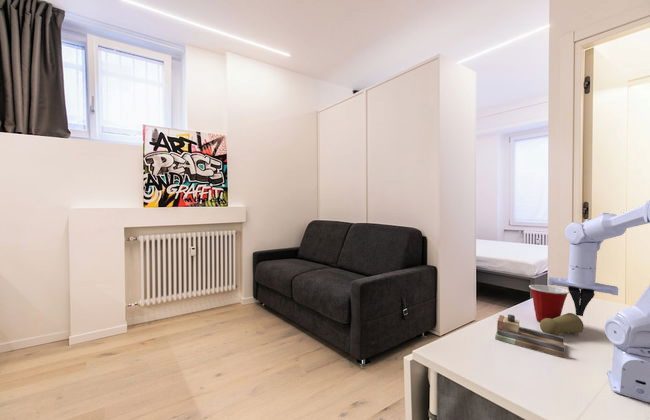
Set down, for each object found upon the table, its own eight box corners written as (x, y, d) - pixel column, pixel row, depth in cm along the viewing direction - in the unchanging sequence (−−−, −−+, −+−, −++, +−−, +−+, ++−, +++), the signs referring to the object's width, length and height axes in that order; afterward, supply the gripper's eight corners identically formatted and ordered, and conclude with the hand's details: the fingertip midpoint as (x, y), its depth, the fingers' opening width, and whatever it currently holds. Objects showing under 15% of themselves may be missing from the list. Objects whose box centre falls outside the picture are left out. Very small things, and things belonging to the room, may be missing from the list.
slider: (518, 331, 90) (519, 315, 89) (517, 337, 86) (518, 319, 86) (503, 328, 92) (504, 311, 92) (501, 333, 89) (502, 316, 88)
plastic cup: (557, 317, 104) (559, 283, 103) (574, 331, 93) (576, 294, 92) (522, 313, 106) (523, 281, 106) (534, 326, 96) (536, 290, 95)
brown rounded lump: (585, 335, 89) (556, 341, 87) (564, 330, 95) (537, 335, 92) (582, 315, 90) (553, 320, 87) (562, 310, 95) (534, 315, 93)
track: (563, 343, 85) (564, 327, 85) (564, 357, 78) (565, 339, 78) (499, 328, 95) (500, 312, 95) (495, 339, 88) (495, 322, 87)
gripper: (615, 267, 80) (612, 316, 81) (548, 260, 89) (546, 304, 89) (621, 273, 74) (617, 325, 75) (549, 264, 83) (546, 311, 84)
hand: (579, 314), depth 82 cm, fingers closed
